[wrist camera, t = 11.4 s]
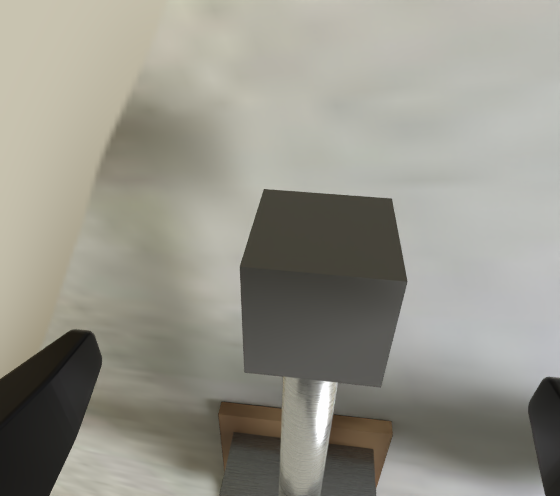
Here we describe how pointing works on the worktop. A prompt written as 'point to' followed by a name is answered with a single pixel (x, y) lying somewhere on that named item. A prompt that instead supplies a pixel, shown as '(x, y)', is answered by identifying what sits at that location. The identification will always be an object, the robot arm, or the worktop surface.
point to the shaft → (318, 312)
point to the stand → (267, 441)
